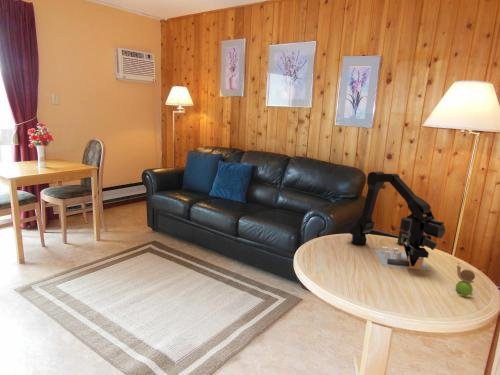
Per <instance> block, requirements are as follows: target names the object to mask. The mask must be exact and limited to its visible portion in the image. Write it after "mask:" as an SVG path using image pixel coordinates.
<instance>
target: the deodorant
mask: <svg viewBox="0 0 500 375" xmlns="http://www.w3.org/2000/svg"><path fill="white" fill-rule="evenodd" d="M410 224H411V219H408V218H407V216H406V217H401V220H400V224H399V231H398V237H397V245H398V246H401V247H404V246H403V244H405V241H404V243H402V242H401V237H402V236H403V235H406V236H409V234H408V230H410Z"/></svg>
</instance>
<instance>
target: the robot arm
mask: <svg viewBox="0 0 500 375" xmlns="http://www.w3.org/2000/svg"><path fill="white" fill-rule="evenodd" d="M385 183H389V184H390V185H391V186H392V187H393V188H394V189H395V191H396V192H397V193H398V194H399V196H401V198H402V199H403V200H404V201H405V202H406V205H407V208H408V210H409V211H410V214H409V215H407V216H406V218H408V219H411V224H410V230H408V234H409V236H406V235H403V236H402V237H401V242H402V243H404V241H405V244H403V246H402V247H403V249H404V253H406V256H407V260H408V256H409V258H410V263H411V266H414V265H415V263H416V262H417V260H418V258H419V257H424V258H426V259H427V258H429V255H430V252H428V251H427V250H426V248H429V249H430V250H432V251H434V250H435V248H436V247H437V245H438V243H437V242H436V240H435V241H434V240H433V238H432V237H434V238H436V239H442V238H443V237H444V235H445V232H446V226H445V225H444V224H445V222H444V221H441V220H440V221H439V220H436V219H435V217H434V214H433V212H432V210H431V205H430V204H429V203H428V201H426V200H424V199H423V198H421V197H419V196H417V194H415V193H414V191H413V190H412V189H410V187H409V186H408V185H407V183H405V182H404V180H403V179H402V178H401V177H400V175H399V174H397V173H385V172H383V171H371V172H369V173H368V174H367V178H366V185H367V192H366V197H365V200H364V204H363V207H362V211H361V215H360V216H359V217H358V219H357V220H356V222H355V224H354V226H352V228H350V229H349V234H350V235H351V240H350V242H351V244H352V245H355V246H358V247H359V246H366V244H367V240H368V239H367V235H369V233H370V232H372V230H374V227H375V226H374V225H375V224H376V222H375V221H374V220H373V213H374V210H375V206H376V203H377V198H378V195H379V192H380V190H381V189H382V187H383V186H384V184H385ZM425 247H426V248H425Z"/></svg>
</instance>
